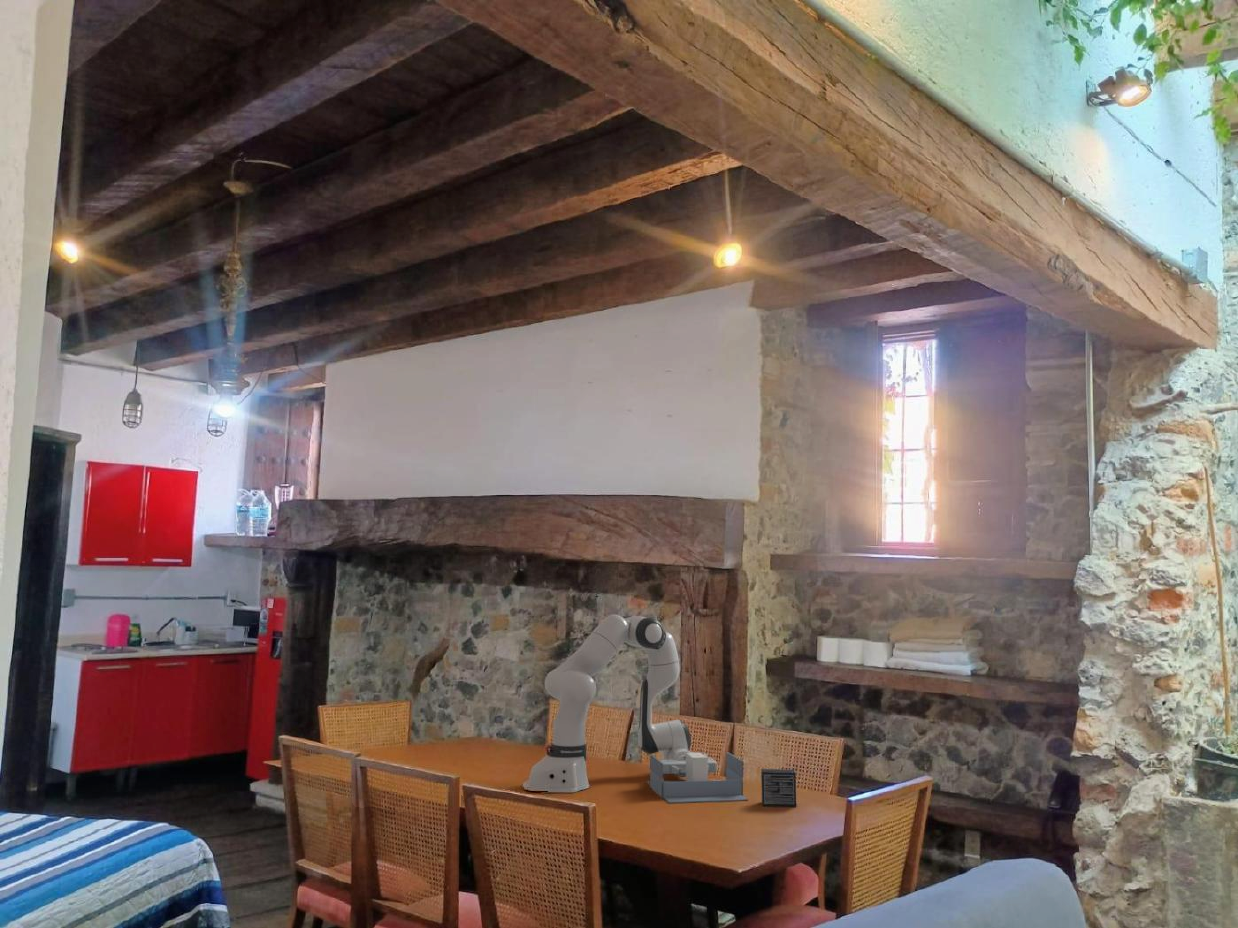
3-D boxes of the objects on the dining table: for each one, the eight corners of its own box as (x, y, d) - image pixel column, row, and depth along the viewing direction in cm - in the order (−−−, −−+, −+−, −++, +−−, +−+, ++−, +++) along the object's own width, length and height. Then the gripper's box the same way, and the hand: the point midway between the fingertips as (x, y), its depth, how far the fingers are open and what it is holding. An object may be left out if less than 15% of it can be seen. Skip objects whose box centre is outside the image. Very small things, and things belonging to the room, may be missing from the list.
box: (692, 795, 315) (692, 757, 316) (685, 789, 323) (685, 752, 325) (707, 794, 315) (707, 757, 317) (700, 789, 324) (700, 752, 326)
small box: (795, 802, 306) (794, 768, 307) (796, 807, 299) (796, 772, 300) (761, 801, 307) (761, 767, 308) (762, 806, 300) (762, 771, 301)
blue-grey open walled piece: (666, 803, 303) (666, 767, 304) (644, 782, 334) (644, 749, 335) (750, 800, 308) (750, 764, 309) (721, 779, 339) (721, 747, 340)
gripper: (653, 754, 336) (663, 761, 323) (710, 753, 340) (721, 760, 327) (653, 773, 336) (662, 781, 322) (710, 771, 340) (721, 779, 326)
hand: (692, 770), depth 325 cm, fingers open, 8 cm apart
